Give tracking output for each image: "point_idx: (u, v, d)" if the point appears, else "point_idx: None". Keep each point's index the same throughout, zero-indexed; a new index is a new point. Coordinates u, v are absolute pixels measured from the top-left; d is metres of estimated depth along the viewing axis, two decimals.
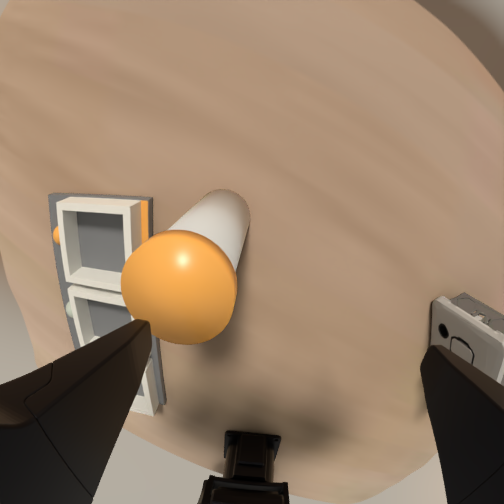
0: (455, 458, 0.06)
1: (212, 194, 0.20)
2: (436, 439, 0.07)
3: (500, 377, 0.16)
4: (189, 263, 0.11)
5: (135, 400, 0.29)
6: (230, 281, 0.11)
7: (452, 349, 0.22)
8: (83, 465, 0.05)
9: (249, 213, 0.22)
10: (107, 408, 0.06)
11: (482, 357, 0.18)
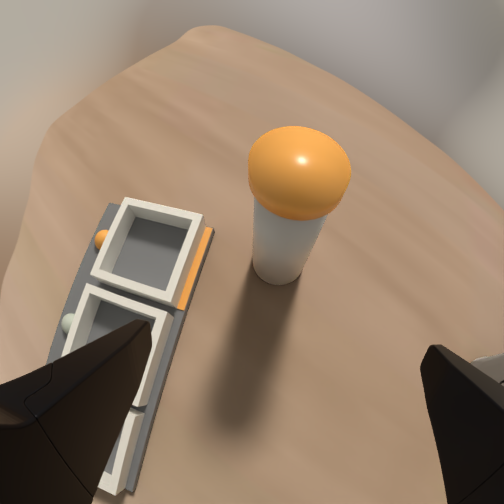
0: (455, 458, 0.06)
1: None
2: (436, 439, 0.07)
3: None
4: (318, 142, 0.14)
5: None
6: None
7: None
8: (83, 465, 0.05)
9: None
10: (107, 408, 0.06)
11: None
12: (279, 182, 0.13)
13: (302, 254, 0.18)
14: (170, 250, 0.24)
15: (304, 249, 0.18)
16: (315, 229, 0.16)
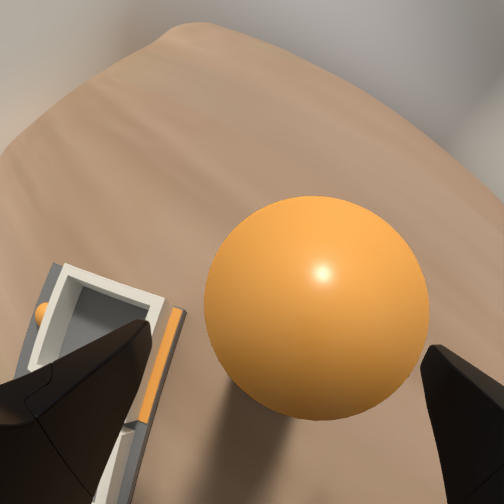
0: (455, 458, 0.06)
1: None
2: (436, 439, 0.07)
3: None
4: (365, 239, 0.06)
5: None
6: (422, 282, 0.06)
7: None
8: (83, 465, 0.05)
9: None
10: (107, 408, 0.06)
11: None
12: (275, 360, 0.05)
13: None
14: None
15: None
16: None
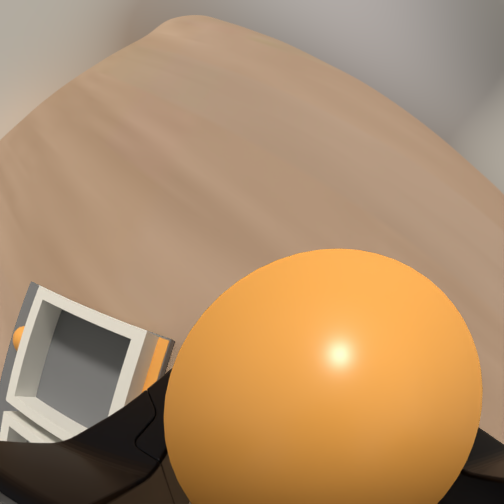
0: None
1: None
2: None
3: None
4: (409, 317, 0.04)
5: None
6: (476, 370, 0.04)
7: None
8: (182, 495, 0.05)
9: None
10: None
11: None
12: (269, 503, 0.03)
13: None
14: (108, 371, 0.14)
15: None
16: None
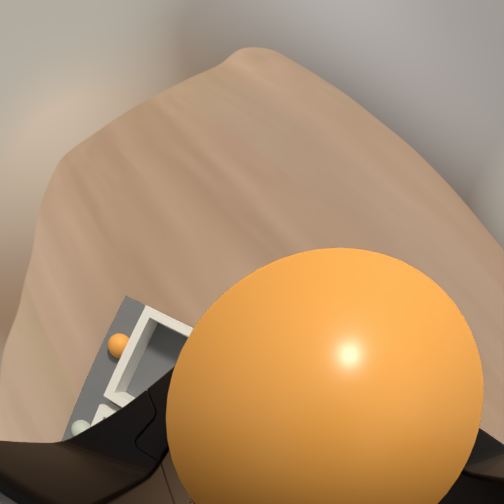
0: None
1: None
2: None
3: None
4: (411, 317, 0.04)
5: None
6: (477, 369, 0.04)
7: None
8: (182, 495, 0.05)
9: None
10: None
11: None
12: (271, 502, 0.03)
13: None
14: None
15: None
16: None
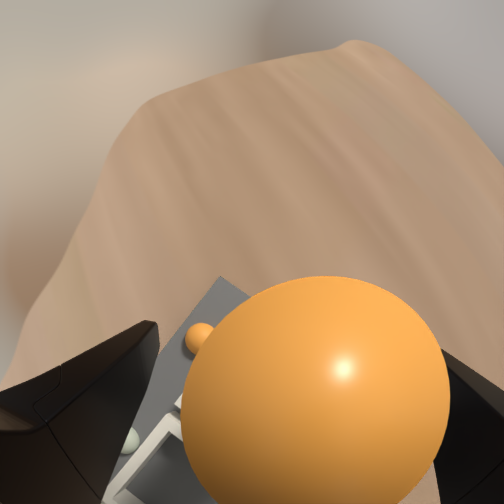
0: (448, 460, 0.06)
1: None
2: None
3: None
4: (384, 334, 0.05)
5: None
6: (445, 379, 0.04)
7: None
8: (92, 469, 0.05)
9: None
10: (116, 411, 0.06)
11: None
12: (266, 485, 0.04)
13: None
14: None
15: None
16: None
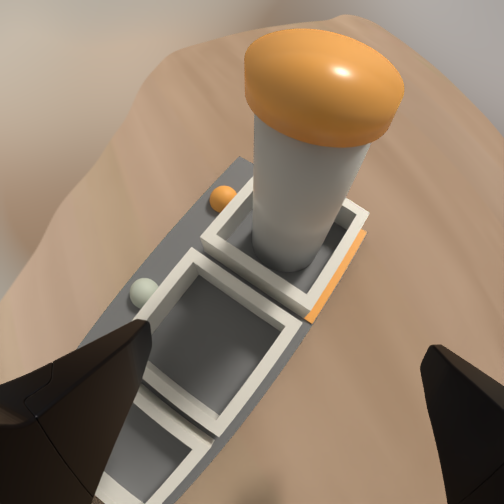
0: (455, 458, 0.06)
1: None
2: (436, 439, 0.07)
3: None
4: (349, 46, 0.08)
5: (113, 488, 0.12)
6: (394, 71, 0.08)
7: None
8: (83, 465, 0.05)
9: None
10: (107, 408, 0.06)
11: None
12: (296, 82, 0.07)
13: (324, 222, 0.12)
14: None
15: (328, 213, 0.12)
16: (348, 176, 0.10)
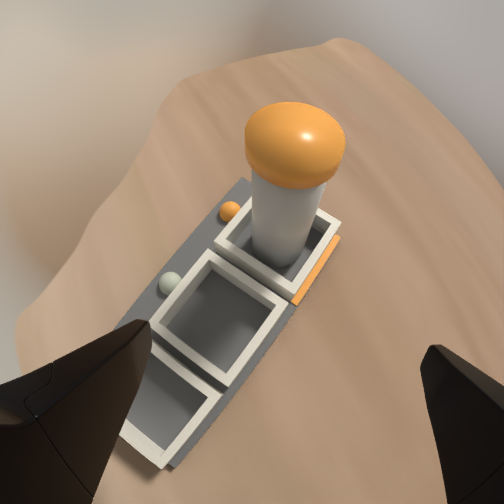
0: (455, 458, 0.06)
1: None
2: (436, 439, 0.07)
3: None
4: (313, 116, 0.14)
5: (142, 438, 0.17)
6: None
7: None
8: (83, 465, 0.05)
9: None
10: (107, 408, 0.06)
11: None
12: (275, 151, 0.13)
13: (301, 231, 0.18)
14: None
15: (302, 225, 0.18)
16: (312, 202, 0.16)
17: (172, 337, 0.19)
